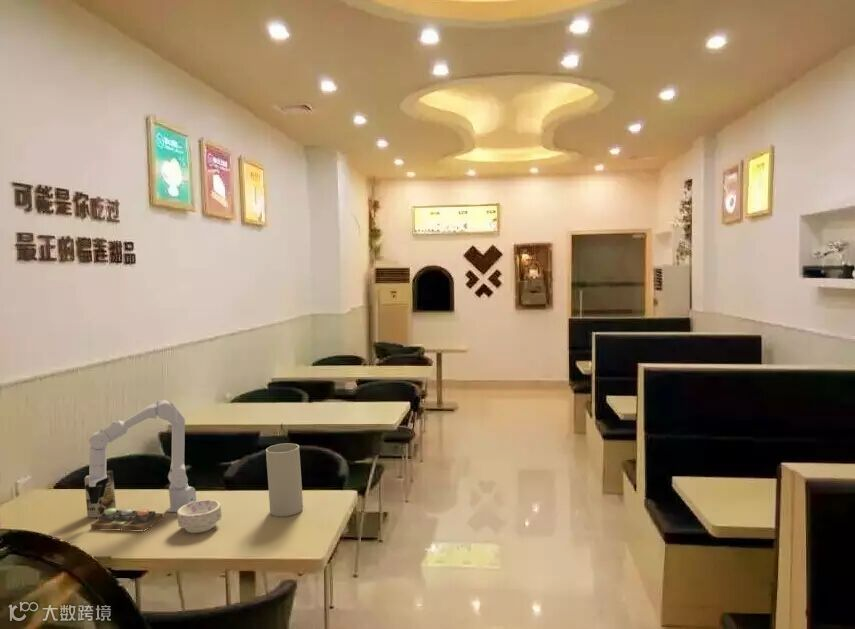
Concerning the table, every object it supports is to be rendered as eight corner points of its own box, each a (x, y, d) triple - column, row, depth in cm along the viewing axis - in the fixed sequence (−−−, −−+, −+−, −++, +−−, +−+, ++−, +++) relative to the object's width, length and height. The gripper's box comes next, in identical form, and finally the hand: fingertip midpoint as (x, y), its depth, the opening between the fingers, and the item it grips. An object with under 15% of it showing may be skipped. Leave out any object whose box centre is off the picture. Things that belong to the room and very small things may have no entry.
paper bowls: (181, 540, 229) (179, 518, 228) (176, 525, 242) (174, 505, 242) (225, 530, 236) (224, 509, 235) (218, 516, 249) (217, 496, 248)
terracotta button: (151, 513, 246) (151, 509, 246) (144, 517, 242) (144, 513, 242) (142, 513, 247) (141, 508, 247) (135, 517, 243) (135, 512, 243)
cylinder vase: (280, 520, 243) (275, 454, 241) (264, 511, 252) (260, 448, 250) (309, 510, 251) (305, 447, 249) (292, 502, 260) (288, 441, 258)
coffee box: (101, 518, 253) (97, 477, 252) (86, 517, 255) (83, 477, 253) (116, 509, 262) (113, 470, 261) (102, 508, 263) (99, 469, 262)
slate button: (135, 512, 247) (134, 508, 247) (128, 516, 243) (127, 512, 243) (125, 512, 248) (125, 508, 248) (118, 516, 244) (118, 512, 244)
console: (163, 518, 250) (162, 508, 249) (143, 531, 238) (142, 520, 238) (112, 516, 254) (111, 506, 254) (91, 529, 242) (90, 518, 242)
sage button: (118, 512, 249) (118, 508, 248) (111, 516, 245) (111, 512, 245) (109, 511, 249) (109, 507, 249) (102, 515, 246) (102, 511, 245)
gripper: (92, 459, 250) (91, 494, 251) (80, 469, 236) (79, 506, 237) (111, 459, 252) (111, 493, 252) (101, 469, 238) (100, 506, 238)
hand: (97, 500), depth 245 cm, fingers open, 7 cm apart
